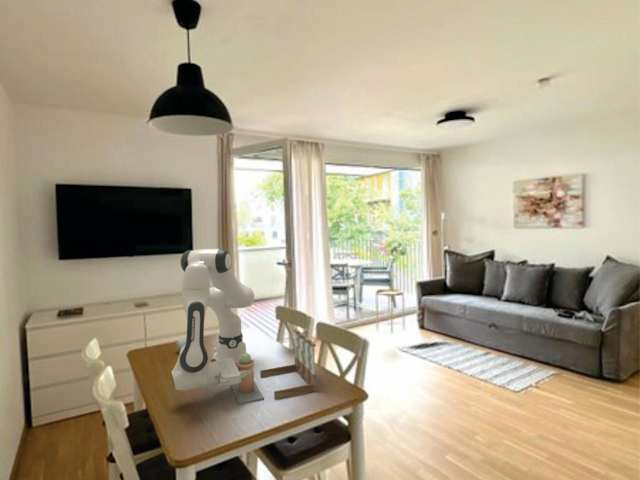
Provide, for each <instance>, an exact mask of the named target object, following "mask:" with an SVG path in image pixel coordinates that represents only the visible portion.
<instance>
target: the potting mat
mask: <svg viewBox="0 0 640 480" xmlns="http://www.w3.org/2000/svg"><path fill="white" fill-rule="evenodd" d="M230 386H231V389H232V391H233V393H234V396H235V398H236V400H237V404H238V405H244V404H250V403H255V402H259V401H264V400H265V397H264V395H263V394H262V391H261V390H260V388H259V387H258V385H257V383H256V381H255V380H254V390H253V391H252V392H250V393H240V392H239V383H238V384H232V385H230Z"/></svg>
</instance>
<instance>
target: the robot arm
mask: <svg viewBox="0 0 640 480" xmlns="http://www.w3.org/2000/svg"><path fill="white" fill-rule="evenodd" d="M180 267H181V269H182V271H183V272H184V273H183V274H184V275H183V278H182V285H181V302H182V303H181V304H182V308H183V309H184V312H185V313H184V314H185V317H186V334H185V335H186V337H185V338H186V344H185V345H184V346H183V347H182V348H181V350H180V353H178V354H179V355H178V358H177V360H176V363H175V365H174V367H173V369H172V370H171V372H170V376H171V381H172V382H171V383H172V385H173V388H174V389H175V390H177V391H187V390H193V389H198V388H200V387H210V386H216V385H223V386H231V385H232V384H238V383H240V382H241V378H243V377H245V376H246V375H250V374H251V371H250V369H248V370H246V371H243V372H242V371H240V372H239V370H238V367H237V362H238V361H239V360H240V357H241V355H242V354H243V353H247V346H246V343H245V342H244V341H243V337H244V335H243V333H242V319H241V318H240V316H239V315H238V314H236V313H234V312H233V311H232V309H243V308H249V307H252V305H253V303H254V301H255V293H254V290H253V289H252V288H251V287H249V286H246V285H244V283H242V282H241V281H240V280H238V278H237V277H236V276H235V273H234V271H233V268H232V255H231V254H230V252H229V251H228V250H226V249H223V248H203V249H202V248H201V249H200V248H199V249H188V250H186V251H184V252H183V253H182V255H181V258H180ZM211 284H212V287H211ZM208 307H209V308H210V309H211V310H212V311H213V312H214V314H215V316H216V318H217V321H218V328H219V329H218V330H219V331H218V332H219V334H218V344H217V347H214V350H213V351H214V353H213V358H211V359H210V360H209V362H208V359H209V355H208V352H207V349H206V347H205V344H204V335H205V334H204V332H205V317H206V313H207V309H208Z"/></svg>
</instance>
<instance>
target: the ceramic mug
mask: <svg viewBox="0 0 640 480" xmlns="http://www.w3.org/2000/svg"><path fill="white" fill-rule="evenodd" d="M175 344H176V352H177V353H178V354H180V350H181V348H182V347H183V346H184V345H185V344H186V337H184V338H180V339H178V340H176V342H175Z"/></svg>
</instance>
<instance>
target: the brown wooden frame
mask: <svg viewBox="0 0 640 480" xmlns="http://www.w3.org/2000/svg"><path fill="white" fill-rule="evenodd" d="M293 331H294V332H293V333H294V345H295V347H294V350H295V352H294V353H295V356H294V364H288V365H283V366H279V367H273V368H266V369H262V370H260V371H259V372H260V373H259V374H260V377H259V378H265V377H273V376H277V375H283V374H286V373H287V372H288V373H293V372H292V371H294V372H296V373H297V374H298V376H299V377H300V378H301V379H302V380H303V381H304V382H305V383H306V384H303V385H299V386H293V387H291V388H290V387H289V388H284V389H280V390H279V389H278V390H274V391H273V398H274V400H275V401H276V400H280V399H284V398H289V397H294V396H299V395H303V394H308V393H312V392H317V374H316V366H315V364H316V363H315V362H316V361H315V357H316V355H315V348H316V343H315V342H314V341H312V339H310V338H308V336H306V335H305V334H304V333H302V332H301V331H299V329H298V328H294V329H293Z"/></svg>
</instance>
